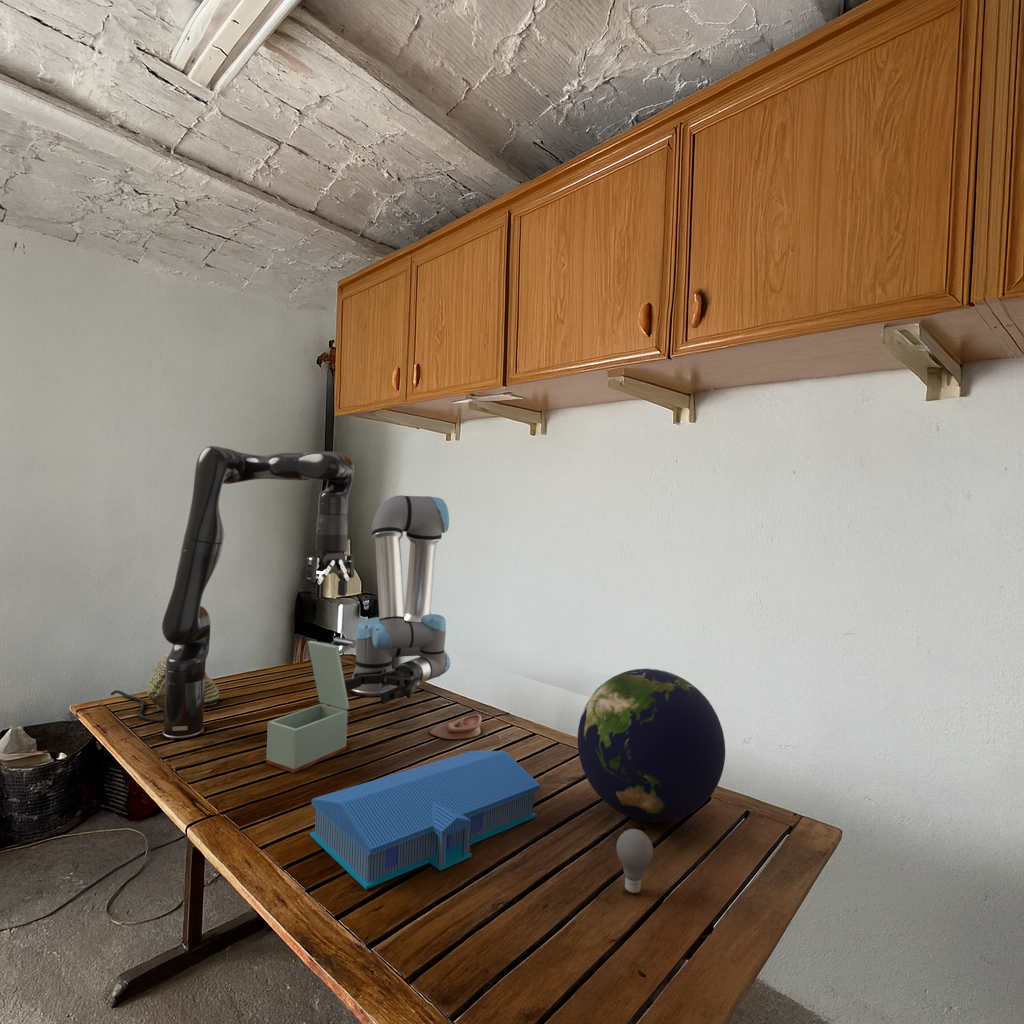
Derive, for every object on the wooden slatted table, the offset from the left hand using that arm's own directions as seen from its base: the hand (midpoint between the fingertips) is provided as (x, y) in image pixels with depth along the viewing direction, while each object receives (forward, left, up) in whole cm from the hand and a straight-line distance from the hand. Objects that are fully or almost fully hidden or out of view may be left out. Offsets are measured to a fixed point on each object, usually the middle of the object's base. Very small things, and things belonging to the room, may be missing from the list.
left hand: (329, 597), depth 158 cm
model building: (+48, -2, -38) cm, 61 cm away
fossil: (-53, -17, -38) cm, 67 cm away
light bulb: (+85, +12, -38) cm, 94 cm away
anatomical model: (+11, +33, -38) cm, 52 cm away
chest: (+2, -5, -38) cm, 39 cm away
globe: (+71, +36, -38) cm, 89 cm away
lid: (0, 0, -20) cm, 20 cm away
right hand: (-3, +12, -27) cm, 30 cm away
